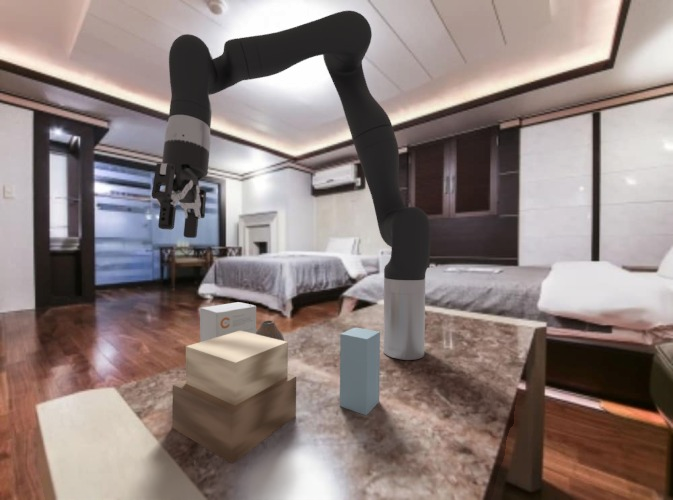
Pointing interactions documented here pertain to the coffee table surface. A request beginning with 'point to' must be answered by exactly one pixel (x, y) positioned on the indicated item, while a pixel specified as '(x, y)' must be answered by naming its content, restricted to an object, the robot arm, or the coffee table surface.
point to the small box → (227, 320)
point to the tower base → (232, 417)
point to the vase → (269, 330)
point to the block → (359, 369)
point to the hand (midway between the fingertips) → (179, 233)
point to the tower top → (236, 365)
